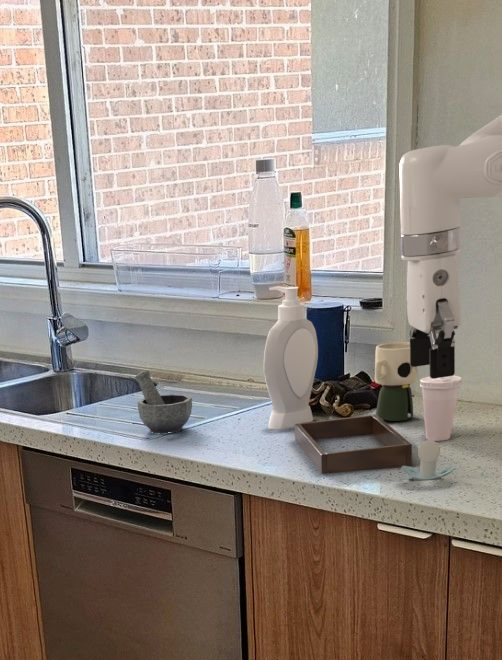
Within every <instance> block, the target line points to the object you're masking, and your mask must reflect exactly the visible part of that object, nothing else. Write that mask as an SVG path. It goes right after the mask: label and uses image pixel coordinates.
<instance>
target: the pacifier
mask: <svg viewBox="0 0 502 660" xmlns="http://www.w3.org/2000/svg"><path fill="white" fill-rule="evenodd" d="M440 454H441V447H440V445H439V443H438V442H437V441H433V440H427V439H426V440H424V441H423V442H421V444H420V445H419V446H418V448H417V456H418V459H419V460H420V466H419V467H420V469H419V468H415V467H413V466H410V467H409V466H402V467H401V471H402V472H403V474H404V475H406V476H408V477H409V478H406V479H404V480H402V483H407V482H408V483H409V482H423V481H426V482H427V481H440V480H441V481H442V480H444V478H445V477H446V476H448V475H450V474H451V473H452V472H454V471H455V469H456V466H454V465H453V466H449V467H445V468H442V469H439V470H437V460H438V458H439V457H440Z"/></svg>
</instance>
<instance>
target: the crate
mask: <svg viewBox="0 0 502 660" xmlns="http://www.w3.org/2000/svg"><path fill="white" fill-rule="evenodd" d="M364 436H373V437H374V438H375V439H376V440H377V441H378V442H379V443H381V445H382V446H375V447H374V446H373V447H368V448H367V447H366V448H358V449H350V450H340V451H331V452H325V451H324V449H322V447H321V446H320V445H319V444H318V442H317V440H318V441H319V440H329V439H341V438H352V437H364ZM294 441H295V443H296V444H297V445H298V446H299V447H300V449H301V450H302V451H303V453H304V454H305V455H306V457H307V458H308V459H309V460H310V461H311V463H312V464H313V465H314V466H315V468H316V469H317V470H318V471H319V473H320V474H321V475H328V474H329V475H330V474H339V473H340V474H341V473H351V472H363V471H375V470H386V469H397V468H402V466H409V467H413V466H412V465H413V444H412V443H411V442H410V441H409V440H408V439H406V438H405V437H404V436H402V434H400V433H399V431H397V430H395V429H394V428H393V427H392V426H390V425H389V424H388V423H387V422H386V420H384V419H381V418H380V417H379V416H377V415H376V413H375V414H368V415H358V416H350V417H343V418H333V419H325V420H316V421H311V422H307V423H298V424H295V427H294Z"/></svg>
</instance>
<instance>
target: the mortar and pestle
mask: <svg viewBox="0 0 502 660" xmlns="http://www.w3.org/2000/svg"><path fill="white" fill-rule="evenodd" d="M150 374H151V373H150V371H149V370H143V371H140V372H139V373H137V374H136V375H135V377H134V380H135V381H136V382H137V383H138V385H139V387H140V391H141V393H142V396H143V398H141V399H140V400H139V401H137V411H138V415H139V418H140V420H141V422H142V424H143V425H144V426H145V427H146V428H148V430H149V432H150V433H151V432H153V433H168V432H176V433H179V432H181V431H182V430H183V427H184V426H185V425H186V423H188V421H189V418H190V417H191V415H192V410H193V398H192V397H191V396H190V395H188V394H177V393H176V394H175V393H172V394H171V393H169V394H160V393H159V391H158V389H157V387H156V385H155V384H154V382H153V380H152V378H151V375H150ZM180 430H181V431H180ZM178 431H179V432H178Z"/></svg>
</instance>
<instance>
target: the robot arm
mask: <svg viewBox="0 0 502 660" xmlns="http://www.w3.org/2000/svg"><path fill="white" fill-rule="evenodd" d="M398 173H399V211H400V213H399V214H400V254H401V257H400V259H401V261H407V266H406V267H407V269H406V314H407V322H408V325H409V326H410V328H409V342H410V365H411V366H412V367H417V368H418V367H423V366H429V376H430V377H431V378H432V379H435V378H441V377H448V376H453V375H454V376H455V374H456V373H455V372H456V368H455V367H456V366H455V365H456V364H455V363H456V361H455V360H456V359H455V358H456V357H455V355H456V353H455V349H456V347H455V346H456V345H455V344H456V340H455V336H456V332H455V330H458V329H459V328H460V327H461V326H462V306H461V285H460V273H459V265H458V259H457V255H458V254H459V253H461V208H460V207H461V199H475V198H476V199H477V198H480V199H481V198H483V199H485V198H486V199H487V198H496V197H500V196H502V114H500V115H499V116H497V117H496V118H494V119H493V120H491V121H490V122H488V123H487V124H486V125H484V126H483V127H481V128H480V129H478V130H477V131H475V132H474V133H472V134H471V135H470V136H467V137H466V139H464V140H463V141H462V142H461V143H460V144H459V145H455V146H454V145H451V144H442V145H433V146H428V147H422V148H416V149H412V150H409V151H407V152H405V153H404V154H403V155H402V156H401V158H400V161H399V172H398Z"/></svg>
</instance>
